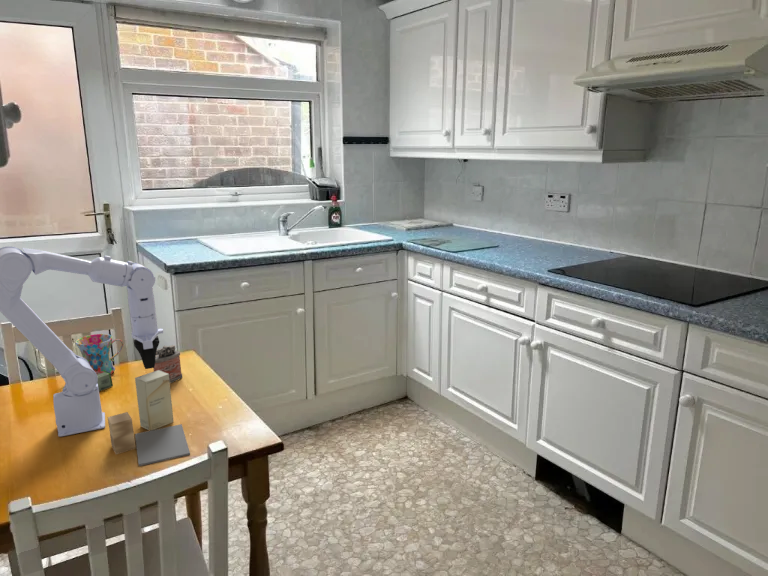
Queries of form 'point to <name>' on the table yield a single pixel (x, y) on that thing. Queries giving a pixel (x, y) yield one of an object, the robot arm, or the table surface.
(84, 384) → the robot arm
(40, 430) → the table surface
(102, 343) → the mug
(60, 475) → the table surface
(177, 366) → the reddish brown pouch
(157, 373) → the skincare box
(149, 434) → the plate
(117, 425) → the oak block
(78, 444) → the table surface
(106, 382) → the medication box
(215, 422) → the table surface
